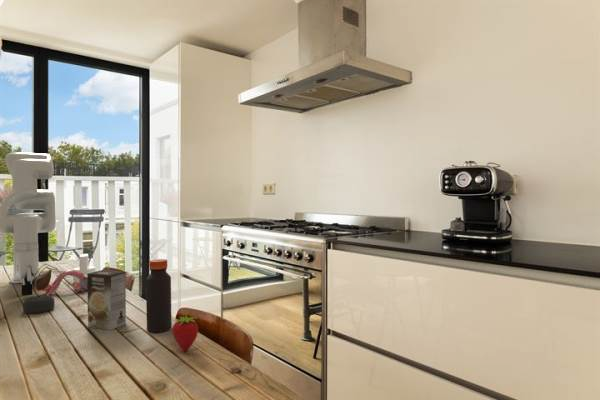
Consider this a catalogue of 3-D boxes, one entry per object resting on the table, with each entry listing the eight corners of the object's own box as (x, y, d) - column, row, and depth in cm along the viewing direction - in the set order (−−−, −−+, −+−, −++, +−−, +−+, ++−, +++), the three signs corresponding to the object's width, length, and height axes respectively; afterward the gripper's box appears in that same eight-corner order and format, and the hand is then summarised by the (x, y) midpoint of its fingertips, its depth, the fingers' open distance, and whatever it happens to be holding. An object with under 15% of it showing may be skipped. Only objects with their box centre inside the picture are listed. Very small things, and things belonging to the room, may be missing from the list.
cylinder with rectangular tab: (74, 280, 178) (73, 254, 178) (96, 278, 182) (95, 253, 182) (72, 284, 170) (71, 257, 170) (94, 281, 174) (94, 255, 174)
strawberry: (190, 343, 99) (189, 305, 99) (203, 352, 94) (203, 311, 93) (168, 349, 95) (167, 310, 95) (180, 359, 90) (179, 317, 90)
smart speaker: (57, 310, 131) (57, 298, 131) (26, 316, 124) (26, 304, 124) (50, 305, 137) (50, 294, 137) (20, 311, 130) (20, 299, 130)
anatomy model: (93, 281, 157) (60, 254, 150) (61, 312, 150) (25, 284, 143) (88, 277, 166) (58, 251, 159) (58, 305, 159) (24, 279, 152)
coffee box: (86, 327, 113) (85, 273, 113) (103, 320, 119) (103, 269, 119) (110, 330, 110) (109, 275, 110) (127, 323, 116) (126, 270, 116)
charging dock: (79, 286, 166) (79, 273, 166) (84, 285, 167) (84, 273, 167) (91, 291, 155) (91, 278, 155) (96, 291, 157) (96, 277, 157)
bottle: (148, 335, 106) (147, 263, 106) (145, 327, 112) (144, 259, 112) (173, 330, 109) (172, 261, 109) (169, 323, 115) (168, 257, 115)
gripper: (10, 246, 149) (11, 293, 150) (17, 250, 139) (18, 300, 139) (33, 245, 155) (34, 290, 155) (42, 248, 144) (42, 296, 144)
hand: (27, 294), depth 147 cm, fingers closed
